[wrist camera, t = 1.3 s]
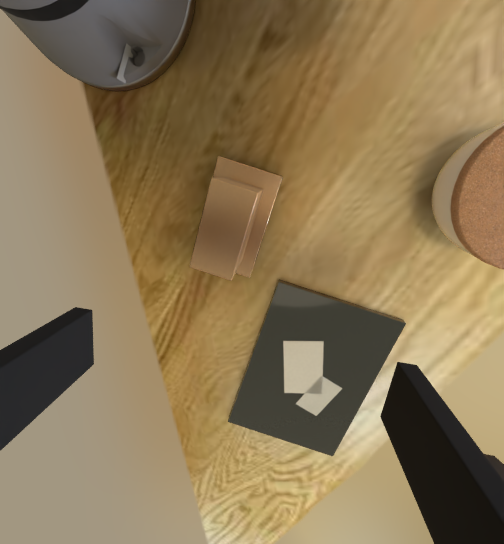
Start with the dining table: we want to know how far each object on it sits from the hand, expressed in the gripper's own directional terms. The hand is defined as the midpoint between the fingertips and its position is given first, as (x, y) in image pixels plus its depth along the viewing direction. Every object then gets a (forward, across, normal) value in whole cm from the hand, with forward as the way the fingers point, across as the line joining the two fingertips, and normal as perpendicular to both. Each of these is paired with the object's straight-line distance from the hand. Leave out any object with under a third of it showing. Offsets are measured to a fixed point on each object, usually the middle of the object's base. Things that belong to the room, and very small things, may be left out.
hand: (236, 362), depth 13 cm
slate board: (+20, +7, -13) cm, 25 cm away
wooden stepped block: (+19, -3, +4) cm, 20 cm away
